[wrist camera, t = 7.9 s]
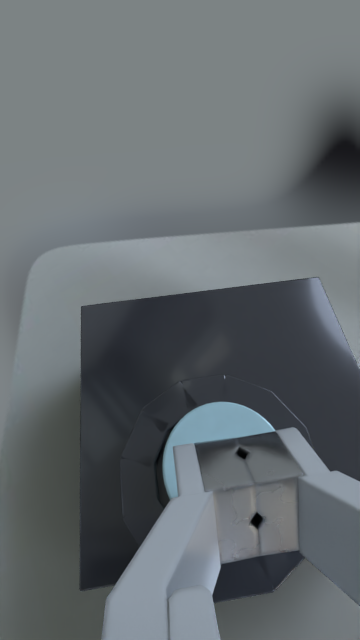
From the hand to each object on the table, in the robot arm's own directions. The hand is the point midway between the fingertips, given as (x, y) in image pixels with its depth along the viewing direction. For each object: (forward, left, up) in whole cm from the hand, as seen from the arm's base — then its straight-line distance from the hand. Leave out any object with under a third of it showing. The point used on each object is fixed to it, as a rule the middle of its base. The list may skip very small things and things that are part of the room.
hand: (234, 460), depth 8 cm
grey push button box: (0, +3, -11) cm, 11 cm away
